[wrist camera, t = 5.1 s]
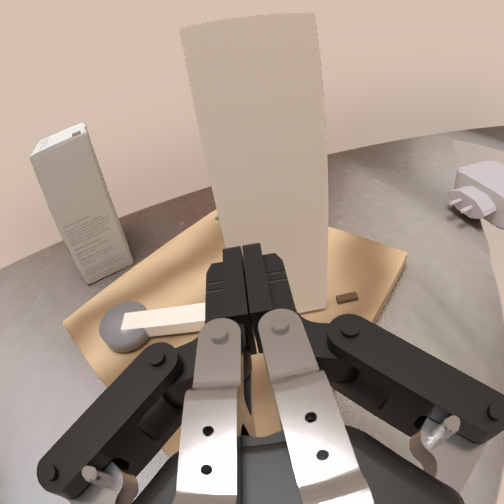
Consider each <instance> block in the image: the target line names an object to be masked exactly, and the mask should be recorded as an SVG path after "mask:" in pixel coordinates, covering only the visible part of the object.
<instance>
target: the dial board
mask: <svg viewBox="0 0 504 504" xmlns="http://www.w3.org/2000/svg"><path fill="white" fill-rule="evenodd" d="M224 248H226V247H225V243H224V239H223V234H222V230H221V226H220V221H219V217H218V213H217V209H216V210H214V211H213V212H211V213H210V214H208V215H207V216H205V217H204V218H202V219H201V220H199V221H198V222H197V223H195V224H194V225H192V226H191V227H189V228H188V229H186V230H185V231H183V232H182V233H181V234H179V235H178V236H176V237H175V238H173V239H172V240H171V241H169V242H168V243H166V244H165V245H163V246H162V247H161V248H159V249H158V250H156V251H155V252H154V253H152V254H151V255H149V256H148V257H147V258H145V259H144V260H143V261H141V262H140V263H138V264H137V265H136V266H134V267H133V268H132V269H130V270H129V271H128V272H126V273H125V274H124V275H122V276H121V277H120V278H118V279H117V280H116V281H114V282H113V283H112V284H110V285H109V286H108V287H106V288H105V289H104V290H102V291H101V292H100V293H98V294H97V295H96V296H95V297H93V298H92V299H91V300H89V301H88V302H87V303H86V304H84V305H83V306H82V307H80V308H79V309H78V310H77V311H75V312H74V313H73V314H72V315H70V316H69V317H68V318H67V319H65V320H64V321H63V322H62V323H63V324H64V326H65V327H66V329H67V331H68V332H69V334H70V335H71V337H72V339H73V340H74V342H75V343H76V345H77V346H78V348H79V349H80V351H81V352H82V354H83V355H84V356H85V358H86V359H87V361H88V362H89V364H90V365H91V366H92V368H93V369H94V371H95V372H96V373H97V375H98V376H99V377H100V379H101V380H102V381H103V383H104V384H105V385H106V386H107V388H108V387H109V386H110V385H111V384H112V383H113V381H114V380H115V379H116V378H117V377H118V376H119V375H120V374H121V373H122V372H123V371H124V370H125V369H126V368H127V367H128V366H129V365H130V364H131V363H132V361H133V360H134V359H135V358H136V357H137V356H138V355H139V354H140V353H141V352H142V351H143V350H144V349H145V348H146V347H148V346H149V345H151V344H154V343H158V342H165V343H168V344H171V345H172V346H173V347H174V348H177V347H179V346H182V345H184V344H186V343H189V342H191V341H192V340H194V339H195V338H197V337H198V335H199V332H200V331H196V332H188V333H179V334H170V335H161V336H151V337H149V338H148V339H147V340H146V342H144V343H143V344H142V345H141V346H140V347H138V348H136V349H134V350H132V351H129V352H116V351H114V350H112V349H110V348H109V347H108V346H107V344H106V343H105V342H104V340H103V339H102V338H101V336H100V334H99V325H100V322H101V319H102V318H103V316H104V315H105V313H106V312H107V311H108V310H110V309H111V308H112V307H114V306H115V305H117V304H119V303H122V302H126V301H136V302H139V303H141V304H143V305H144V306H145V307H146V309H147V310H154V309H161V308H169V307H176V306H184V305H191V304H198V303H205V297H206V272H207V271H208V269H209V267H210V265H211V264H212V263H218V262H223V252H222V250H223V249H224ZM407 253H408V252H405V251H402V250H399V249H396V248H393V247H390V246H387V245H384V244H381V243H378V242H375V241H372V240H369V239H366V238H363V237H360V236H357V235H354V234H351V233H348V232H345V231H341V230H338V229H335V228H332V227H329V226H328V262H327V289H326V308H322V309H317V310H312V311H307V312H302V313H299V314H300V315H301V316H302V317H303V318H305V319H306V320H309V321H312V322H318V323H330V322H331V321H332V320H333V319H334V318H336V317H337V316H340V315H343V314H356V315H359V316H361V317H363V318H365V319H367V320H368V321H370V322H372V323H374V324H375V322H376V320H377V319H378V317H379V315H380V313H381V311H382V309H383V308H384V306H385V304H386V302H387V300H388V298H389V296H390V294H391V292H392V291H393V289H394V287H395V285H396V283H397V281H398V279H399V277H400V275H401V273H402V270H403V268H404V266H405V262H406V258H407ZM255 342H256V338H255ZM256 349H257V354H254V355H251V359H252V374H253V410H254V424H255V430H256V437H266V436H268V435H271V434H274V433H276V432H279V431H281V428H280V424H279V419H278V415H277V411H276V407H275V403H274V399H273V395H272V391H271V386H270V382H269V378H268V374H267V369H266V364H265V360H264V355H263V353H260V354H259V352H258V347H257V343H256ZM330 387H331V386H330ZM331 389H332V391H333V389H334V388H332V387H331ZM181 426H182V425H181ZM181 426H180V427H179V428H178V429H177V431H176V432H175V433H174V434H173V435H172V436H171V438H170V439H169V440H168V441H167V442H166V444H165V445H164V446H163V447H162V448H161V449H162V450H163V451H164V452H165V453H166V454H167V455H168V456H169V457H171V456H173V455H174V454H175V453H176V452H178V451H179V448H180V436H181Z"/></svg>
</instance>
